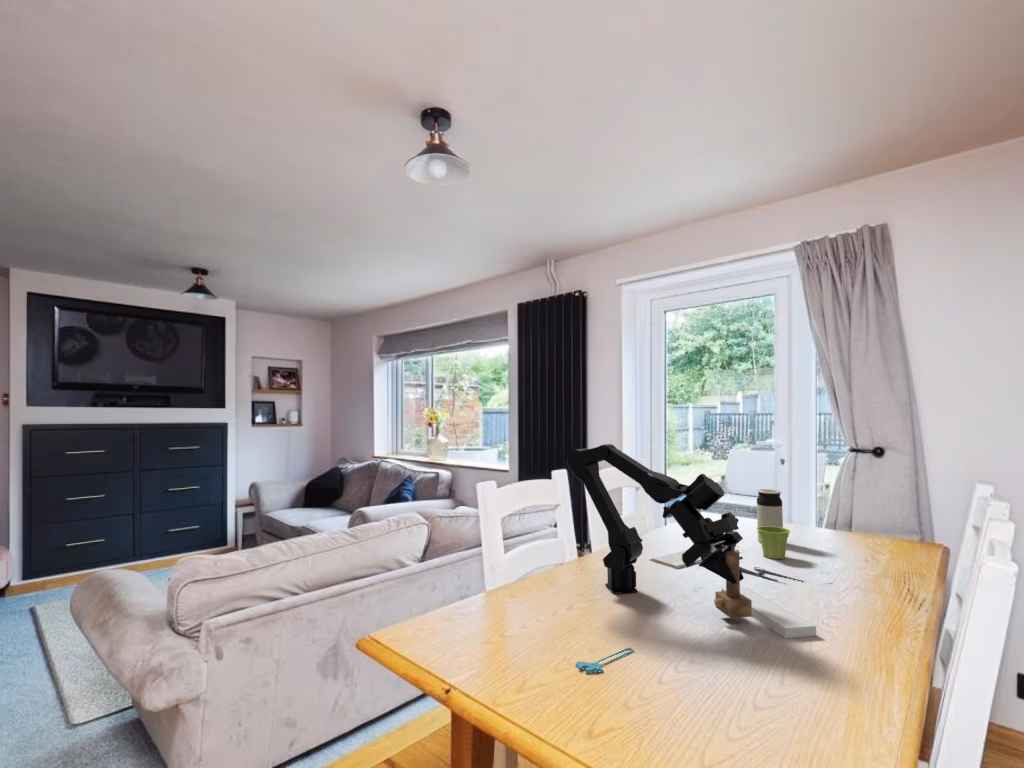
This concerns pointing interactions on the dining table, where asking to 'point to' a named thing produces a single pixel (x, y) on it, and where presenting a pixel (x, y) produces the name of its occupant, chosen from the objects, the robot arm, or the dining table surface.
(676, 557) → the baseboard
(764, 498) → the travel mug
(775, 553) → the plant pot
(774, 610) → the board
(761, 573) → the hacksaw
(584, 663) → the blue flat looped piece
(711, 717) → the dining table surface
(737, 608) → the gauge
